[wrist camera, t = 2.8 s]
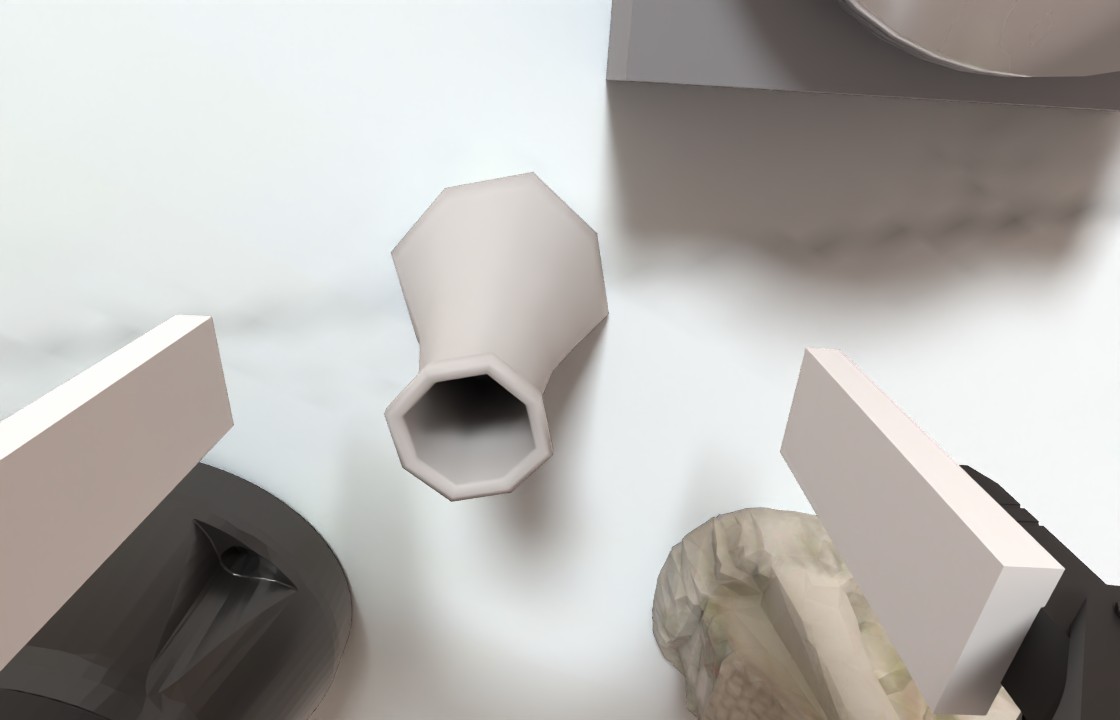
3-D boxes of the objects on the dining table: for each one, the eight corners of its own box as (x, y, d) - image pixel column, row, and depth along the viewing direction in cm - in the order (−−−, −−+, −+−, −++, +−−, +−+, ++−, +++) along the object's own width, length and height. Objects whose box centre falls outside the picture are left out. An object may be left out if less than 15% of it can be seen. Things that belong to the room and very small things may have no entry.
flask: (544, 130, 19) (542, 176, 10) (641, 319, 22) (710, 493, 13) (354, 239, 20) (197, 370, 11) (469, 405, 23) (418, 618, 14)
